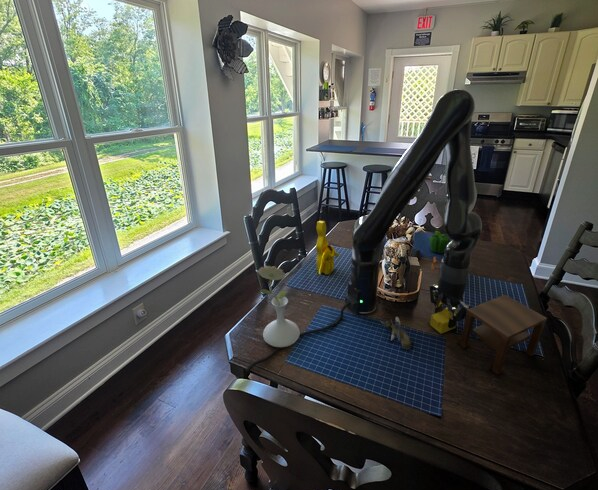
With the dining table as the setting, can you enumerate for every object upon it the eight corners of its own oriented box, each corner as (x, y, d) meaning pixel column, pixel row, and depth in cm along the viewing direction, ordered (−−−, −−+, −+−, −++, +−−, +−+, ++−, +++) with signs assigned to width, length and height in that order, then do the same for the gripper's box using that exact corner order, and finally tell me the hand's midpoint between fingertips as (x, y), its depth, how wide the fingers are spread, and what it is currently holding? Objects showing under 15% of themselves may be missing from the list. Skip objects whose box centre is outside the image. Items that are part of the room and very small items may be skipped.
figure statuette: (323, 282, 127) (324, 232, 119) (306, 277, 131) (306, 228, 123) (342, 263, 141) (344, 217, 133) (326, 258, 145) (327, 213, 136)
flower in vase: (306, 332, 102) (305, 264, 92) (287, 356, 93) (283, 283, 83) (272, 319, 108) (268, 253, 98) (251, 340, 99) (244, 271, 89)
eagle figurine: (375, 333, 99) (396, 347, 91) (384, 311, 100) (405, 324, 92) (391, 337, 103) (413, 352, 95) (400, 317, 103) (422, 329, 95)
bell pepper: (449, 249, 150) (452, 230, 147) (446, 257, 144) (449, 237, 140) (430, 245, 155) (433, 226, 151) (426, 252, 148) (429, 233, 144)
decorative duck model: (466, 252, 134) (485, 270, 120) (461, 268, 137) (479, 287, 123) (431, 250, 134) (445, 267, 120) (427, 265, 137) (441, 284, 123)
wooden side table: (496, 374, 86) (508, 336, 80) (459, 344, 96) (467, 309, 91) (534, 354, 92) (547, 318, 87) (495, 328, 102) (504, 294, 97)
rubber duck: (439, 334, 100) (442, 318, 97) (427, 325, 103) (430, 309, 101) (458, 326, 103) (462, 310, 100) (447, 318, 107) (450, 302, 104)
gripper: (425, 268, 100) (419, 312, 107) (464, 292, 88) (454, 340, 95) (443, 262, 103) (435, 306, 110) (483, 285, 91) (472, 332, 98)
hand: (444, 321), depth 102 cm, fingers closed on rubber duck, 4 cm apart
